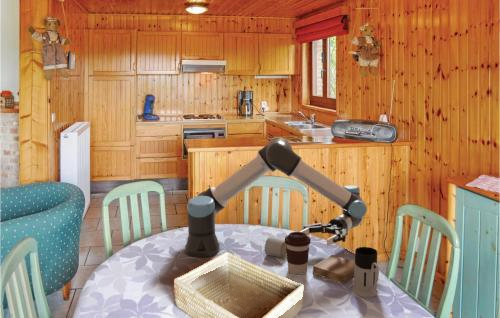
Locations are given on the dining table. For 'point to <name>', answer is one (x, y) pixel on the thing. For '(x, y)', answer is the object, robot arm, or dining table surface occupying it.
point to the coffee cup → (297, 252)
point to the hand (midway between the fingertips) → (313, 238)
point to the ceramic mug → (275, 247)
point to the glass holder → (365, 272)
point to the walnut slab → (335, 269)
